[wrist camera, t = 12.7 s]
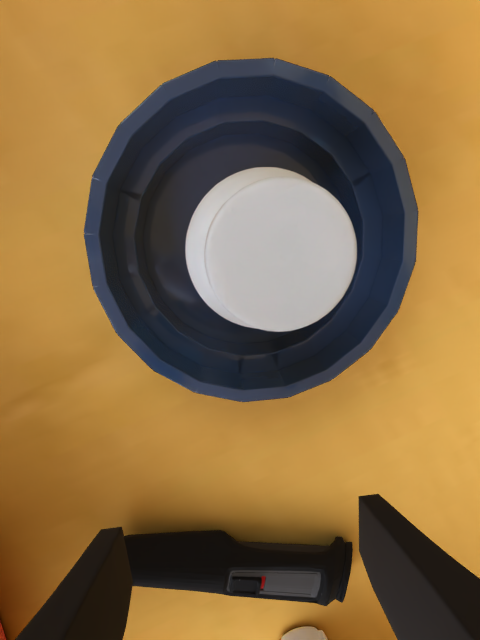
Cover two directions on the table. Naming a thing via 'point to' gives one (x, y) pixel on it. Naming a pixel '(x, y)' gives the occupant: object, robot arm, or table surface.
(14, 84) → the table surface
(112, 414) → the table surface
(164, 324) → the bowl
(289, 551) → the electric trimmer
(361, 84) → the table surface
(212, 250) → the supplement bottle
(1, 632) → the cracker box
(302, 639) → the photo printer
